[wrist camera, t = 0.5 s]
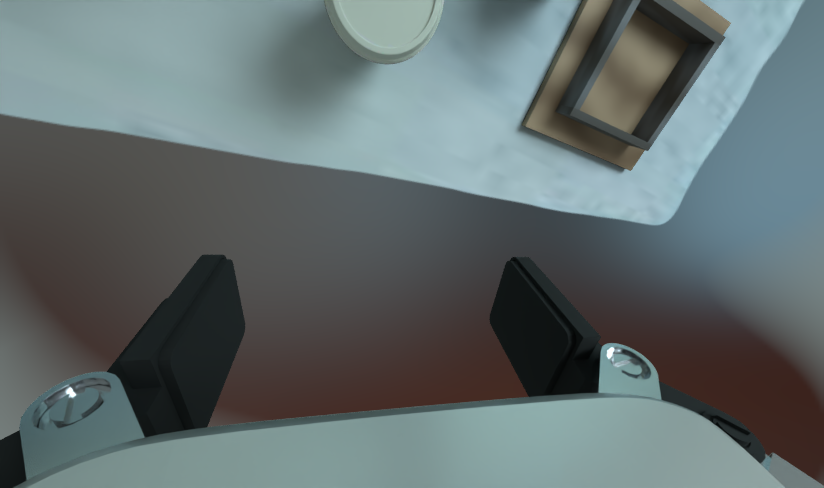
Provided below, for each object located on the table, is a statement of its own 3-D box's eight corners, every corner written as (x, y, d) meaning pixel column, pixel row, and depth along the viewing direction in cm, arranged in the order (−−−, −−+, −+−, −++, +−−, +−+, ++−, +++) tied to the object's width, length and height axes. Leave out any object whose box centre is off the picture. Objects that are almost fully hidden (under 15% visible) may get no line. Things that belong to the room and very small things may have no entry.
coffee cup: (435, 6, 31) (476, -23, 21) (385, 82, 34) (400, 90, 23) (363, -70, 28) (370, -150, 17) (313, 22, 30) (294, -1, 20)
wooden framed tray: (610, -57, 31) (642, -72, 28) (722, 24, 37) (760, 19, 33) (521, 125, 38) (538, 130, 35) (625, 168, 44) (648, 177, 41)
